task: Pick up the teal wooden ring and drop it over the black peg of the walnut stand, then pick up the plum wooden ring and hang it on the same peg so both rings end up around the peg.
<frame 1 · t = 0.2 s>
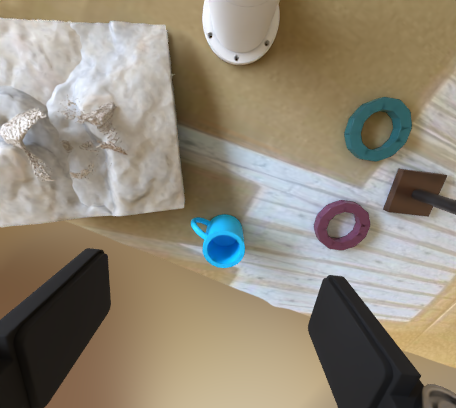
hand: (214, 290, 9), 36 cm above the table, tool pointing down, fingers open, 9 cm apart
plastic wrap: (94, 128, 42), on the table
teal ring: (373, 130, 42), on the table
peg stand: (411, 192, 46), on the table
mug: (217, 226, 49), on the table
plum ring: (339, 223, 48), on the table
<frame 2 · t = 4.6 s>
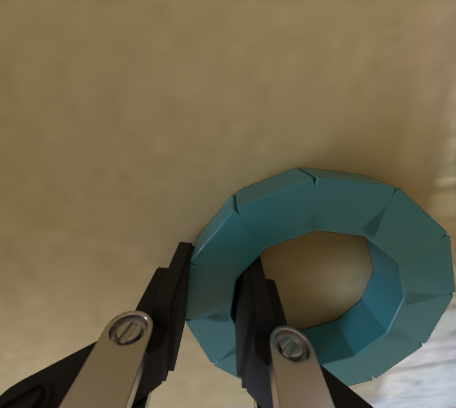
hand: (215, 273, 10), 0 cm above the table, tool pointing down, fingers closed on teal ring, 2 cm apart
teal ring: (300, 277, 11), on the table, touching gripper
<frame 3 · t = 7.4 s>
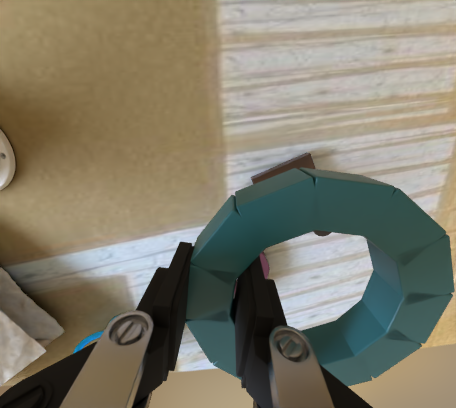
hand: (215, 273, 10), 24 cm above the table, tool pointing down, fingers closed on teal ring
teal ring: (300, 277, 11), point 23 cm above the table, touching gripper
peg stand: (288, 191, 34), on the table
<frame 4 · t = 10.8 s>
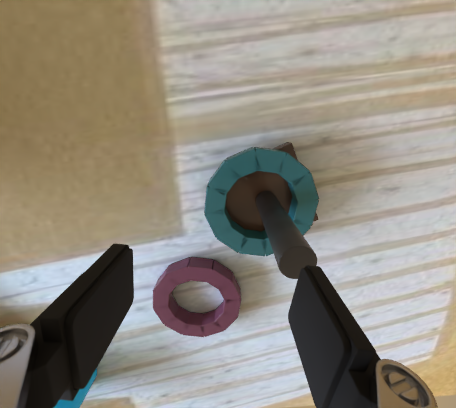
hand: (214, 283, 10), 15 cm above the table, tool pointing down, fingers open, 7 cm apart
teal ring: (258, 200, 23), point 1 cm above the table, touching peg stand
peg stand: (263, 196, 24), on the table
mug: (59, 367, 34), on the table
plum ring: (198, 292, 29), on the table
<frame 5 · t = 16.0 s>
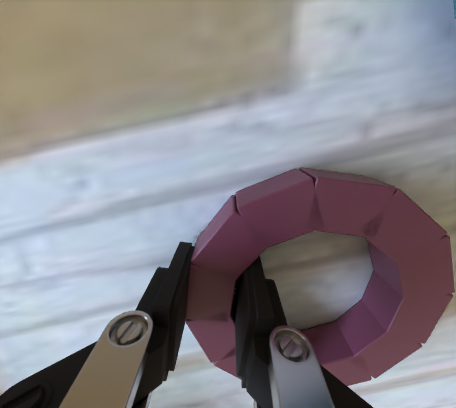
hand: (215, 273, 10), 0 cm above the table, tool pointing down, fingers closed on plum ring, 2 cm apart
plum ring: (300, 277, 11), on the table, touching gripper
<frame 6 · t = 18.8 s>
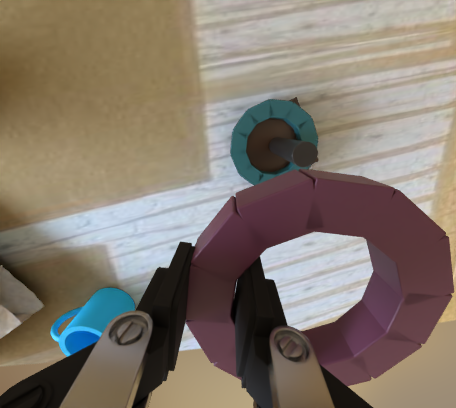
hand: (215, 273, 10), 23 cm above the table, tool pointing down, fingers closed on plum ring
teal ring: (271, 146, 29), point 1 cm above the table, touching peg stand
peg stand: (274, 144, 31), on the table
mug: (103, 304, 41), on the table
plum ring: (300, 277, 11), point 23 cm above the table, touching gripper
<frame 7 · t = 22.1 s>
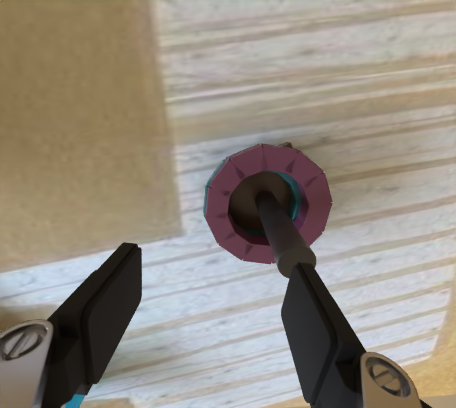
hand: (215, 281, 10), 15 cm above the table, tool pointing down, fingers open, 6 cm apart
teal ring: (257, 200, 23), point 1 cm above the table, touching peg stand, plum ring
peg stand: (262, 196, 24), on the table
plum ring: (264, 203, 21), point 3 cm above the table, touching teal ring
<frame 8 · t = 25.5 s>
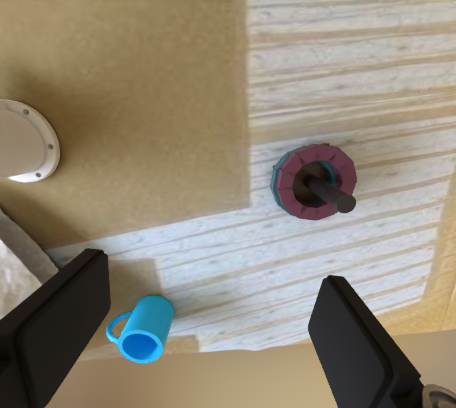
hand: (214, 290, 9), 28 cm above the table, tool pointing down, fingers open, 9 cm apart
teal ring: (304, 181, 35), point 1 cm above the table, touching peg stand, plum ring
peg stand: (306, 179, 36), on the table
mug: (146, 309, 46), on the table
plum ring: (312, 181, 33), point 3 cm above the table, touching teal ring
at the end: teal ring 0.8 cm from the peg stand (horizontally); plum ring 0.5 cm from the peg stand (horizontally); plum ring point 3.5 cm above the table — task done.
